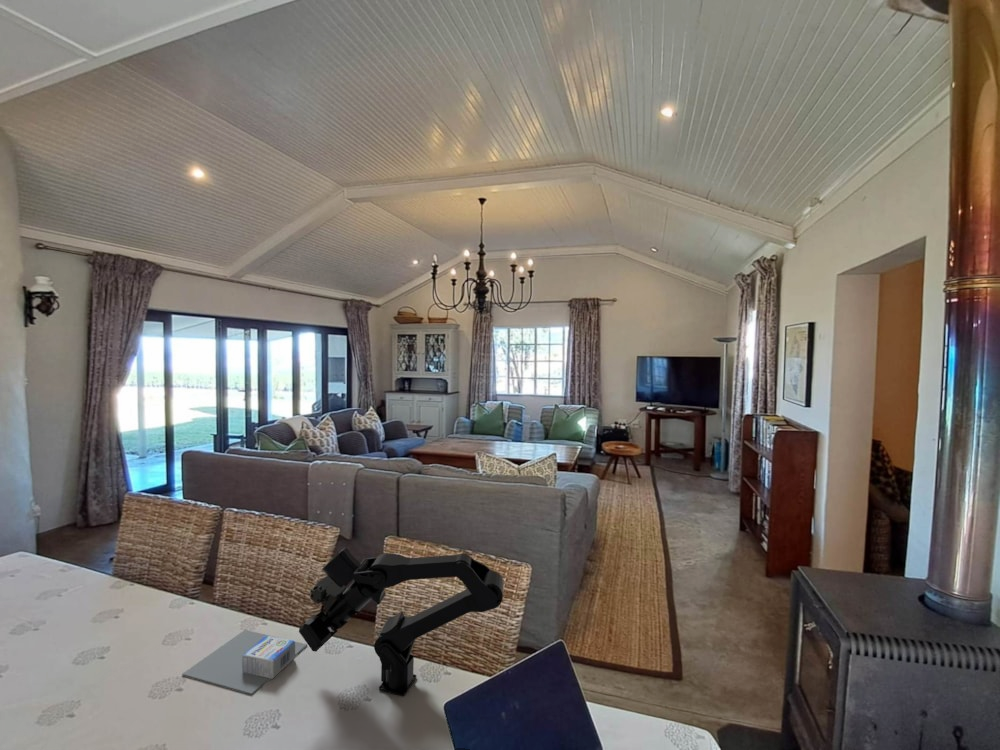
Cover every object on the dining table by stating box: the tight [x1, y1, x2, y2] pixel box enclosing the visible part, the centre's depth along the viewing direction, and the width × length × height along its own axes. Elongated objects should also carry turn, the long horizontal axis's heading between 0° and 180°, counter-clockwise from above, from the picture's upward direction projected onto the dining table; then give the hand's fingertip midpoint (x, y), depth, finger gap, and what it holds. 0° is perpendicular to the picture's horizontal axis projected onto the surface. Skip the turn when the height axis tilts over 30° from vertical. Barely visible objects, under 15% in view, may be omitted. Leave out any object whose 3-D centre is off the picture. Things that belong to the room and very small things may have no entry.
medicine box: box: [242, 635, 296, 679], centre depth 109 cm, size 8×4×9 cm
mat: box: [181, 629, 308, 696], centre depth 111 cm, size 20×18×1 cm
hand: (314, 635), depth 108 cm, fingers closed
